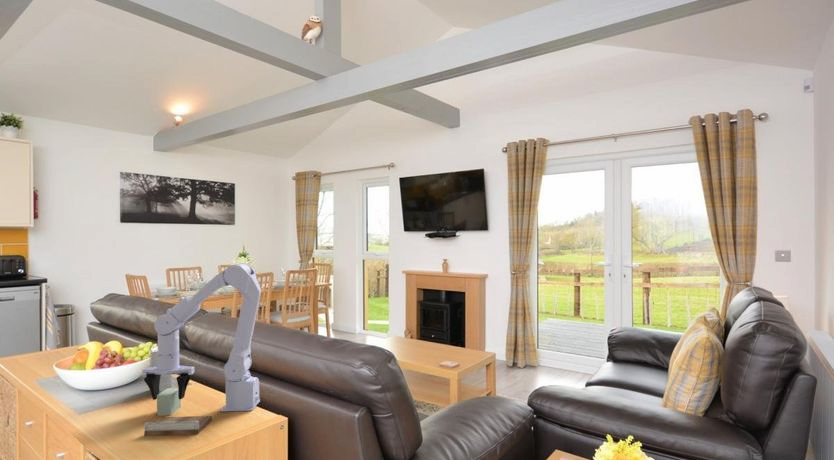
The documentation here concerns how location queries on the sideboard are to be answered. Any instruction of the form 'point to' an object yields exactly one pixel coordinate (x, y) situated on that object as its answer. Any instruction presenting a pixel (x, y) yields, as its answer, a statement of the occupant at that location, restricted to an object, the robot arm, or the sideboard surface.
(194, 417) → the shelf board
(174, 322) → the robot arm
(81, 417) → the sideboard surface
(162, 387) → the skincare box
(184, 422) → the rail
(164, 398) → the product carton
